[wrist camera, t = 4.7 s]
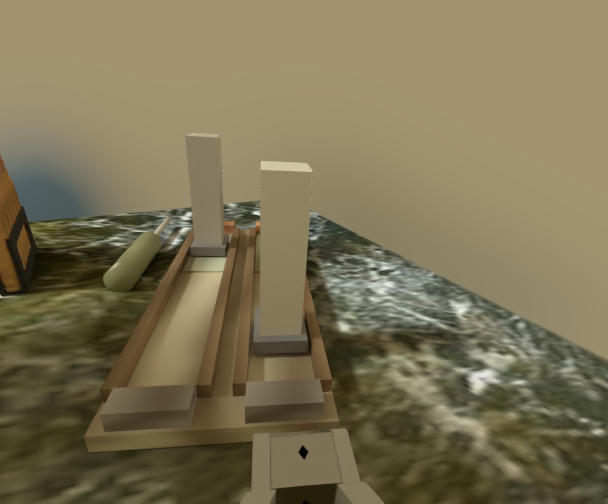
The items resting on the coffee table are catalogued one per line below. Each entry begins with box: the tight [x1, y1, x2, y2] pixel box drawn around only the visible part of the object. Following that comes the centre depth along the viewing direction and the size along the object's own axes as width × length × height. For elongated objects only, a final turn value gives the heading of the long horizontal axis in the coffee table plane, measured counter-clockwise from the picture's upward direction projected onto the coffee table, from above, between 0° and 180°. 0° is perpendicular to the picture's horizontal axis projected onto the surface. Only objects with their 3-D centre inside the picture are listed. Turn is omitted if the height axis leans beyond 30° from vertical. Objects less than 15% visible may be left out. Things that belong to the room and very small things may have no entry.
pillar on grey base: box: [186, 133, 229, 256], centre depth 33 cm, size 4×4×12 cm
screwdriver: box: [103, 217, 171, 292], centre depth 37 cm, size 17×3×3 cm, turn 7°
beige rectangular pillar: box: [253, 161, 313, 354], centre depth 21 cm, size 4×4×12 cm
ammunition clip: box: [0, 155, 37, 296], centre depth 30 cm, size 11×2×12 cm, turn 33°
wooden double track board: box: [84, 221, 339, 453], centre depth 30 cm, size 13×29×2 cm, turn 7°
